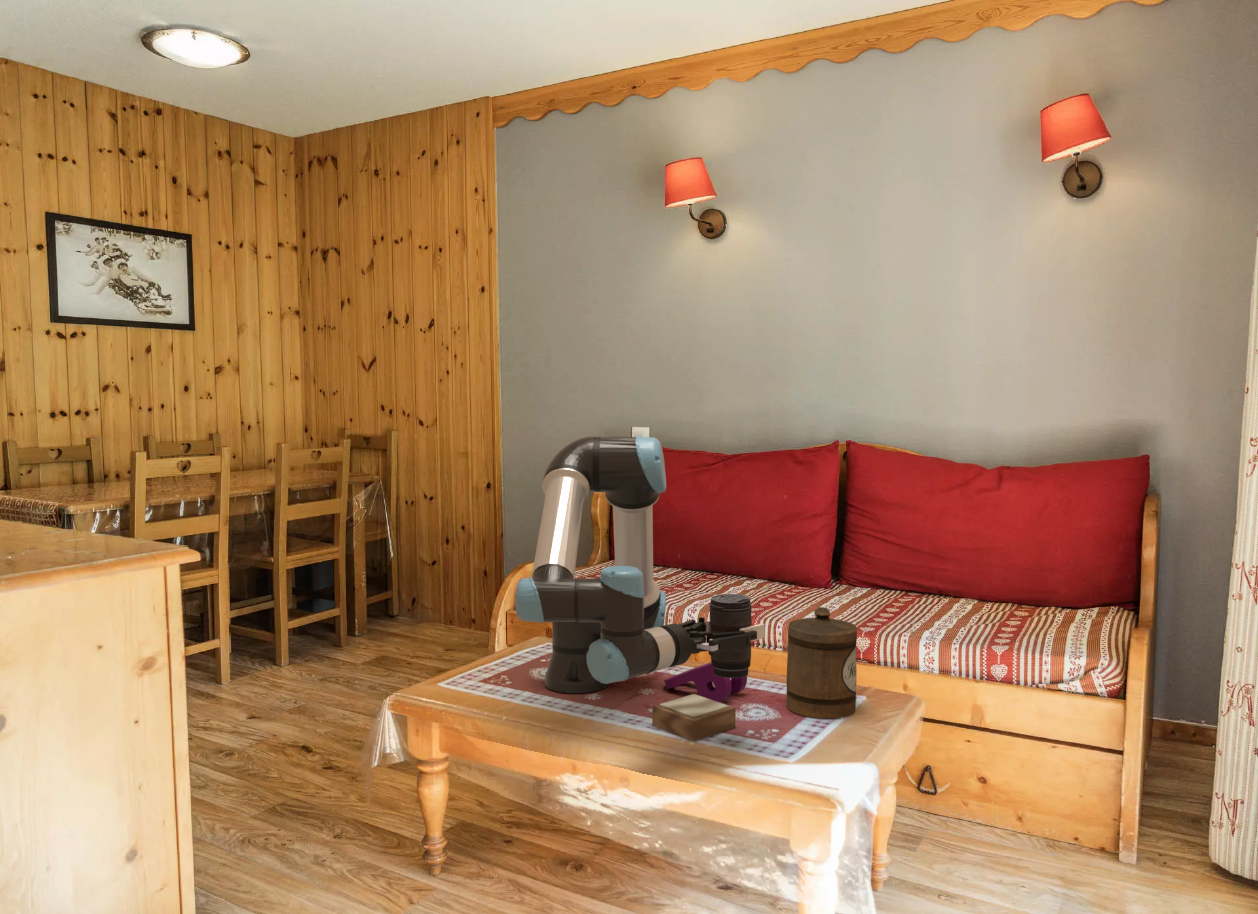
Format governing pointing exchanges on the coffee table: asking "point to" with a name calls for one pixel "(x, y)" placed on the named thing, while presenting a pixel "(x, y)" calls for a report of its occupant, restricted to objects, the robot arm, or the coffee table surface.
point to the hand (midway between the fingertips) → (745, 626)
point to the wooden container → (821, 666)
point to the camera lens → (730, 617)
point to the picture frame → (693, 717)
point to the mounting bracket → (708, 682)
